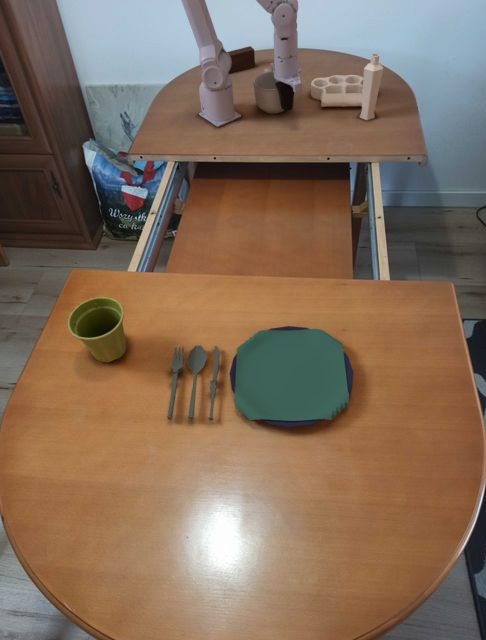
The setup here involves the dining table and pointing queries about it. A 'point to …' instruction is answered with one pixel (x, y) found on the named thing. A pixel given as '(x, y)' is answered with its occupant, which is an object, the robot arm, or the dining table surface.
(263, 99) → the teacup
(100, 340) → the plant pot
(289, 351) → the cutlery set
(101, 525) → the dining table surface
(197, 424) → the dining table surface
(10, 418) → the dining table surface
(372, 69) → the perfume bottle
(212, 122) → the robot arm
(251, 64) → the block
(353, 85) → the white multi-hole holder
